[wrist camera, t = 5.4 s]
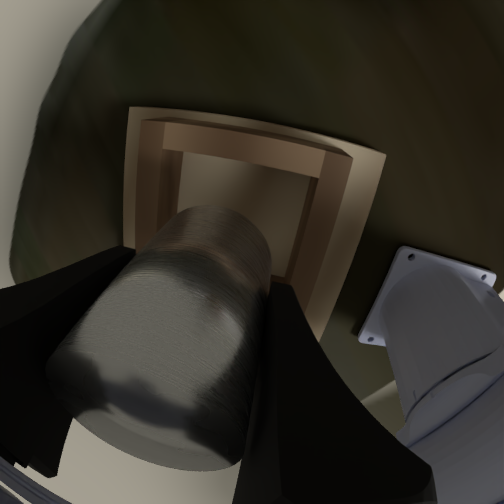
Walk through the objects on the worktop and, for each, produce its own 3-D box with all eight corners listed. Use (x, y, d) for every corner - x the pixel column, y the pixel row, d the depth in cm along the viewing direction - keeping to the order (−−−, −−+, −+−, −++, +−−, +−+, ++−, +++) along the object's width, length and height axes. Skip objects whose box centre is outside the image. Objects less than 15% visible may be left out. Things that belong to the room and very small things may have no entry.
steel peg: (284, 219, 10) (267, 401, 4) (258, 318, 12) (229, 483, 6) (160, 194, 10) (19, 317, 4) (156, 294, 12) (75, 431, 6)
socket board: (379, 151, 15) (406, 165, 11) (298, 372, 23) (297, 414, 19) (139, 106, 15) (99, 109, 11) (137, 334, 24) (116, 369, 20)
